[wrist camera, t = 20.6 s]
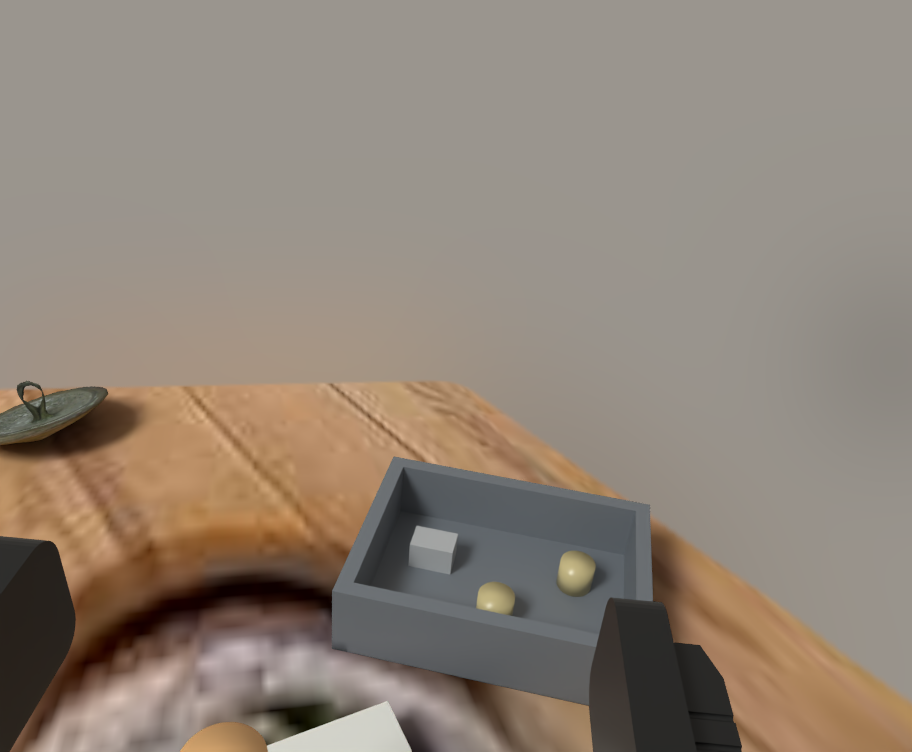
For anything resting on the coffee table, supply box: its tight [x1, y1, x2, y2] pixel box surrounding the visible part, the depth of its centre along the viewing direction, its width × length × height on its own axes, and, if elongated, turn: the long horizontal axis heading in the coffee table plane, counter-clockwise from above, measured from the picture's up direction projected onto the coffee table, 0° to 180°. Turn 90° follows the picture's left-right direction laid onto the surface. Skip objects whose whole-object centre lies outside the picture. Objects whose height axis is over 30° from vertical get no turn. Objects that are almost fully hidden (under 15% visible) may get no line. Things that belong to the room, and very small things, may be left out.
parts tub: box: [332, 457, 653, 706], centre depth 52 cm, size 19×14×5 cm
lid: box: [0, 381, 108, 445], centre depth 64 cm, size 11×10×5 cm
